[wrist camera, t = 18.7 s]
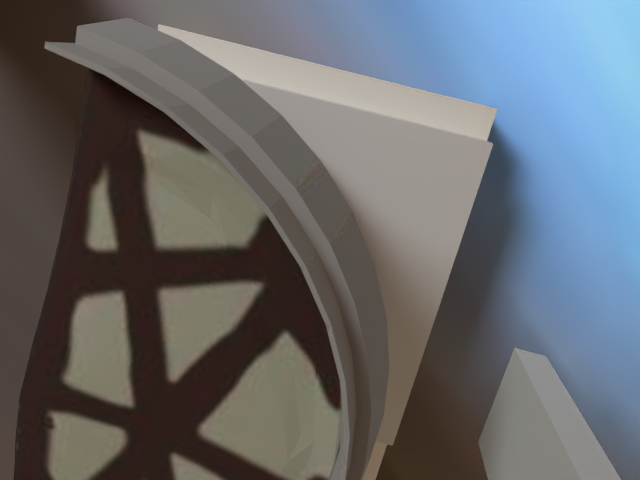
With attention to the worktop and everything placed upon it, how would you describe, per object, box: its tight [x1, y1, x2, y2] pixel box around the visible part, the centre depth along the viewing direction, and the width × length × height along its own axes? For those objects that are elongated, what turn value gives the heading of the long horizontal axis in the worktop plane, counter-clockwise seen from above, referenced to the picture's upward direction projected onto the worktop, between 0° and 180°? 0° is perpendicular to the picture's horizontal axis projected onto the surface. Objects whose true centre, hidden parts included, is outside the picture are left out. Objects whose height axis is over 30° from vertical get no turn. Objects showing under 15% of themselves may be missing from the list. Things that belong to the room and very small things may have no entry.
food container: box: [14, 18, 390, 480], centre depth 13 cm, size 12×6×10 cm, turn 162°
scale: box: [158, 24, 497, 480], centre depth 20 cm, size 16×11×4 cm
